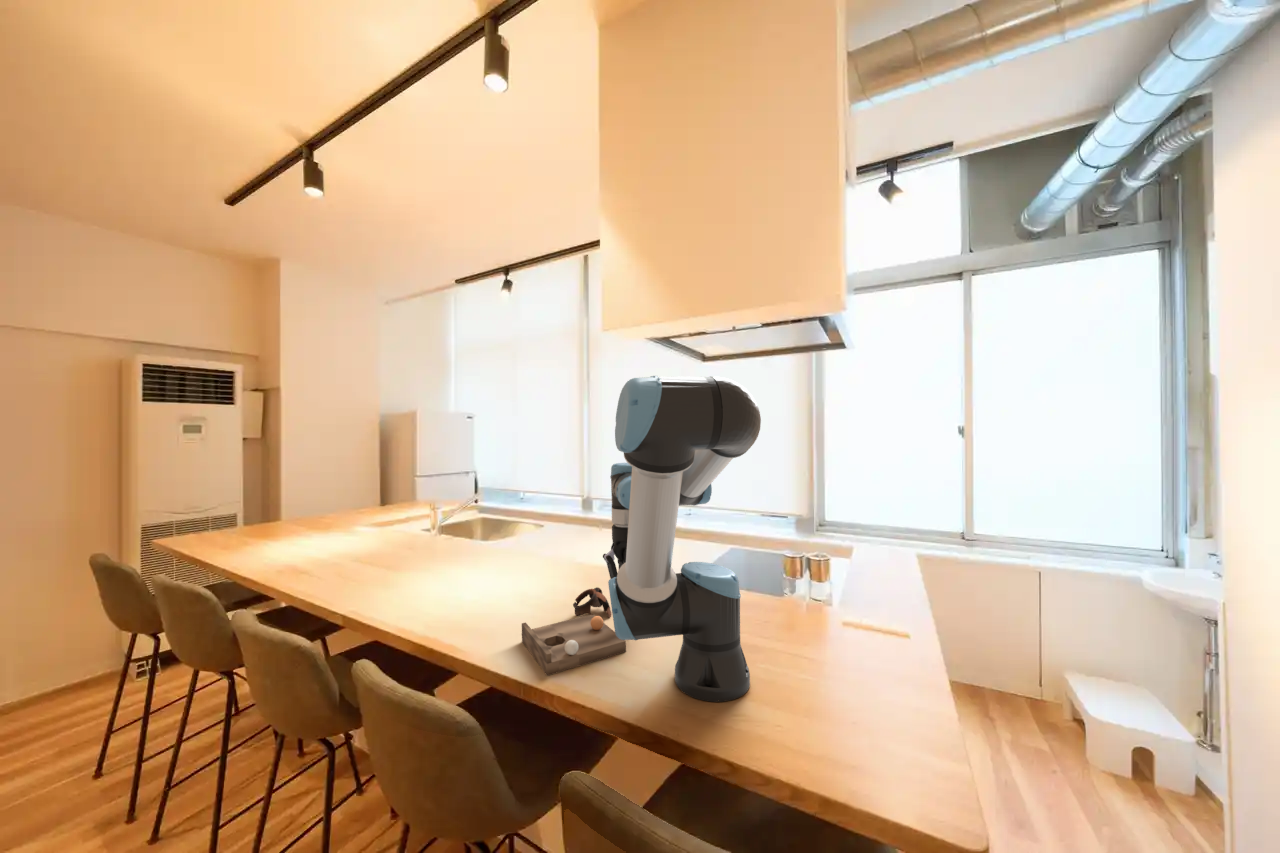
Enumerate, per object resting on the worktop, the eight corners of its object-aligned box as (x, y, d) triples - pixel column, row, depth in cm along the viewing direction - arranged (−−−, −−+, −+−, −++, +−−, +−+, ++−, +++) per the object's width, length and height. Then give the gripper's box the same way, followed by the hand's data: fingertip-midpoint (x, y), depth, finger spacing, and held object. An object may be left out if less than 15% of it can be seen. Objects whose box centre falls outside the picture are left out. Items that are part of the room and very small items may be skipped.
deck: (625, 651, 108) (625, 632, 108) (547, 675, 98) (546, 654, 98) (592, 623, 123) (592, 606, 123) (522, 641, 113) (521, 623, 113)
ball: (606, 630, 113) (605, 617, 113) (594, 633, 112) (593, 620, 112) (600, 625, 116) (600, 612, 116) (588, 628, 114) (588, 615, 114)
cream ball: (580, 655, 101) (580, 641, 101) (567, 659, 100) (567, 645, 100) (575, 649, 104) (575, 636, 104) (562, 653, 102) (562, 639, 102)
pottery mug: (612, 624, 123) (596, 600, 122) (581, 638, 125) (566, 614, 123) (616, 596, 135) (602, 574, 133) (588, 609, 137) (574, 587, 135)
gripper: (641, 518, 125) (642, 605, 125) (596, 524, 118) (598, 617, 118) (656, 523, 118) (657, 615, 118) (610, 530, 112) (612, 628, 112)
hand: (628, 616), depth 118 cm, fingers closed
